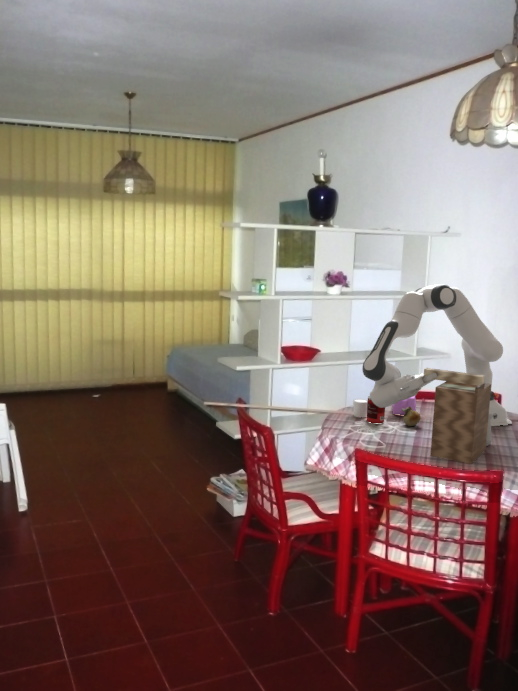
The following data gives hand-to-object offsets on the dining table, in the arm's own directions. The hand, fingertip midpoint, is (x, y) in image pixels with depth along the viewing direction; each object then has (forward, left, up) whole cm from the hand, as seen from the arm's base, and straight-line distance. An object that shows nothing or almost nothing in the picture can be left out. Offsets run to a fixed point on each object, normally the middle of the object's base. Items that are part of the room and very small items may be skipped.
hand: (438, 373), depth 259 cm
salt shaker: (-20, +1, -28) cm, 35 cm away
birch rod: (-4, +4, -2) cm, 6 cm away
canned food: (+14, -32, -28) cm, 45 cm away
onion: (0, -26, -29) cm, 39 cm away
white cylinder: (+18, -42, -28) cm, 54 cm away
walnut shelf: (-5, +11, -28) cm, 31 cm away
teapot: (-4, -46, -29) cm, 54 cm away
